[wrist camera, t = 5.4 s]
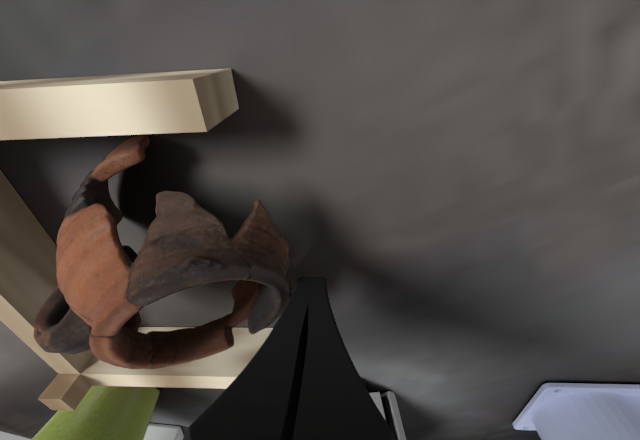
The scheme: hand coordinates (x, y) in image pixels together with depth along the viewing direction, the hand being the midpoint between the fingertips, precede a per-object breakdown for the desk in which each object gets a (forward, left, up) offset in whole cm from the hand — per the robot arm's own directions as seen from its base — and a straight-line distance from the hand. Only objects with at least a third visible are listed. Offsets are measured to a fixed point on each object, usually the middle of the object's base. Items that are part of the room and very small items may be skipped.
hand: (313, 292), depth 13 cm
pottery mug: (+7, -1, -4) cm, 8 cm away
